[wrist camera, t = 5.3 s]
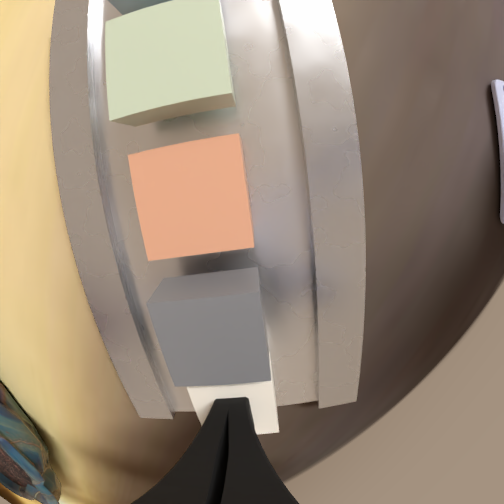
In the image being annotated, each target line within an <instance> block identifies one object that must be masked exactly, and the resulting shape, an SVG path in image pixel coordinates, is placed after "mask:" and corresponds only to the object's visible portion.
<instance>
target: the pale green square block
mask: <svg viewBox="0 0 504 504" xmlns="http://www.w3.org/2000/svg"><path fill="white" fill-rule="evenodd" d="M105 63H106V84H107V99H108V110H109V121H112V122H116V123H121V124H125V125H130V126H134V127H137V126H141V125H145V124H149V123H153V122H157V121H161V120H165V119H170V118H174V117H179V116H184V115H189V114H194V113H199V112H204V111H210V110H216V109H222V108H229V107H236V103H235V96H234V89H233V82H232V75H231V68H230V61H229V54H228V47H227V40H226V33H225V26H224V19H223V14H222V9H221V5H220V0H172V1H168V2H164V3H160V4H157V5H153V6H150V7H146V8H143V9H140V10H137V11H134V12H131V13H128V14H125V15H122V16H119V17H117V18H114V19H111V20H109V21H106V22H105Z"/></svg>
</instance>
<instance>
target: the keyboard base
mask: <svg viewBox="0 0 504 504" xmlns="http://www.w3.org/2000/svg"><path fill="white" fill-rule="evenodd" d="M220 5H221V9H222V14H223V19H224V26H225V33H226V40H227V47H228V54H229V61H230V68H231V75H232V82H233V89H234V96H235V103H236V107H229V108H222V109H216V110H210V111H204V112H199V113H194V114H189V115H184V116H179V117H174V118H170V119H165V120H161V121H157V122H153V123H149V124H145V125H141V126H137V127H134V126H130V125H125V124H121V123H116V122H112V121H109V110H108V99H107V84H106V63H105V22H106V21H109V20H111V19H114V18H117V17H119V16H122V14H121V13H120V12H119V11H118V10H117V9H116V8H115V7H114V6H113V5H112V4H111V3H110V2H109V1H108V0H56V1H55V8H54V15H53V24H52V34H51V47H50V78H49V84H50V115H51V130H52V141H53V150H54V159H55V166H56V173H57V180H58V186H59V191H60V197H61V202H62V207H63V212H64V217H65V221H66V226H67V230H68V234H69V238H70V242H71V246H72V250H73V254H74V257H75V261H76V264H77V268H78V271H79V275H80V278H81V281H82V284H83V287H84V290H85V293H86V296H87V299H88V302H89V305H90V308H91V311H92V313H93V316H94V319H95V321H96V324H97V327H98V329H99V332H100V334H101V337H102V339H103V342H104V344H105V346H106V349H107V351H108V353H109V356H110V358H111V360H112V362H113V365H114V367H115V369H116V371H117V373H118V375H119V377H120V380H121V382H122V384H123V386H124V388H125V390H126V392H127V394H128V396H129V398H130V399H131V401H132V403H133V405H134V407H135V409H136V411H137V413H138V414H139V416H140V417H141V418H158V419H174V415H175V411H195V408H194V406H193V403H192V401H191V398H190V395H189V393H188V390H187V387H175V386H174V383H173V381H172V378H171V376H170V373H169V370H168V368H167V365H166V362H165V359H164V356H163V354H162V351H161V348H160V345H159V342H158V339H157V336H156V333H155V330H154V327H153V324H152V321H151V318H150V314H149V311H148V308H147V304H146V303H147V301H148V300H149V298H150V297H151V296H152V294H153V293H154V291H155V290H156V288H157V287H158V285H159V284H160V282H161V281H162V279H163V278H168V277H177V276H185V275H194V274H203V273H211V272H219V271H228V270H236V269H244V268H252V267H258V272H259V279H260V286H261V294H262V301H263V309H264V317H265V324H266V332H267V339H268V347H269V352H270V358H271V365H272V373H273V381H274V389H275V396H276V405H277V406H283V405H290V404H298V403H305V402H311V401H317V403H318V407H319V408H324V407H330V406H335V405H340V404H345V403H350V402H355V401H356V400H357V392H358V384H359V376H360V366H361V355H362V343H363V329H364V311H365V278H366V246H365V213H364V195H363V180H362V168H361V158H360V148H359V139H358V131H357V123H356V116H355V109H354V103H353V97H352V91H351V85H350V79H349V74H348V69H347V64H346V59H345V54H344V49H343V45H342V41H341V36H340V32H339V28H338V24H337V20H336V16H335V13H334V9H333V5H332V2H331V0H220ZM237 133H239V135H240V137H241V141H242V148H243V156H244V163H245V170H246V177H247V185H248V192H249V199H250V207H251V214H252V222H253V229H254V248H246V249H238V250H230V251H222V252H215V253H207V254H199V255H191V256H184V257H176V258H168V259H161V260H153V261H148V258H147V254H146V249H145V245H144V241H143V236H142V232H141V227H140V222H139V217H138V212H137V207H136V202H135V196H134V191H133V185H132V179H131V173H130V167H129V160H128V155H130V154H134V153H138V152H142V151H146V150H151V149H155V148H160V147H164V146H169V145H174V144H179V143H184V142H189V141H194V140H200V139H205V138H211V137H217V136H224V135H230V134H237Z"/></svg>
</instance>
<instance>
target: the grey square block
mask: <svg viewBox="0 0 504 504" xmlns="http://www.w3.org/2000/svg"><path fill="white" fill-rule="evenodd" d="M108 1H109V2H110V3H111V4H112V5H113V6H114V7H115V8H116V9H117V10H118V11H119V12H120V13H121V14H122V15H125V14H128V13H131V12H134V11H137V10H140V9H143V8H146V7H150V6H153V5H157V4H160V3H164V2H168V1H172V0H108Z"/></svg>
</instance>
